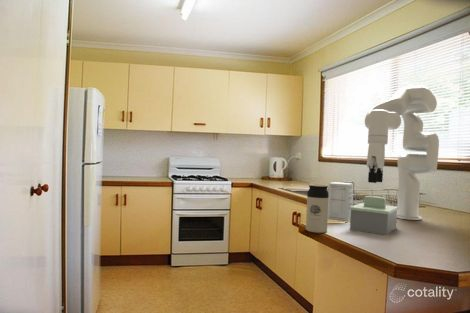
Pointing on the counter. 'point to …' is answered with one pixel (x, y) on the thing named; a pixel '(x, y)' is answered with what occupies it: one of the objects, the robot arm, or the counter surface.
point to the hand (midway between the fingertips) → (375, 182)
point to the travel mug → (317, 208)
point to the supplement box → (340, 201)
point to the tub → (373, 222)
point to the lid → (374, 205)
